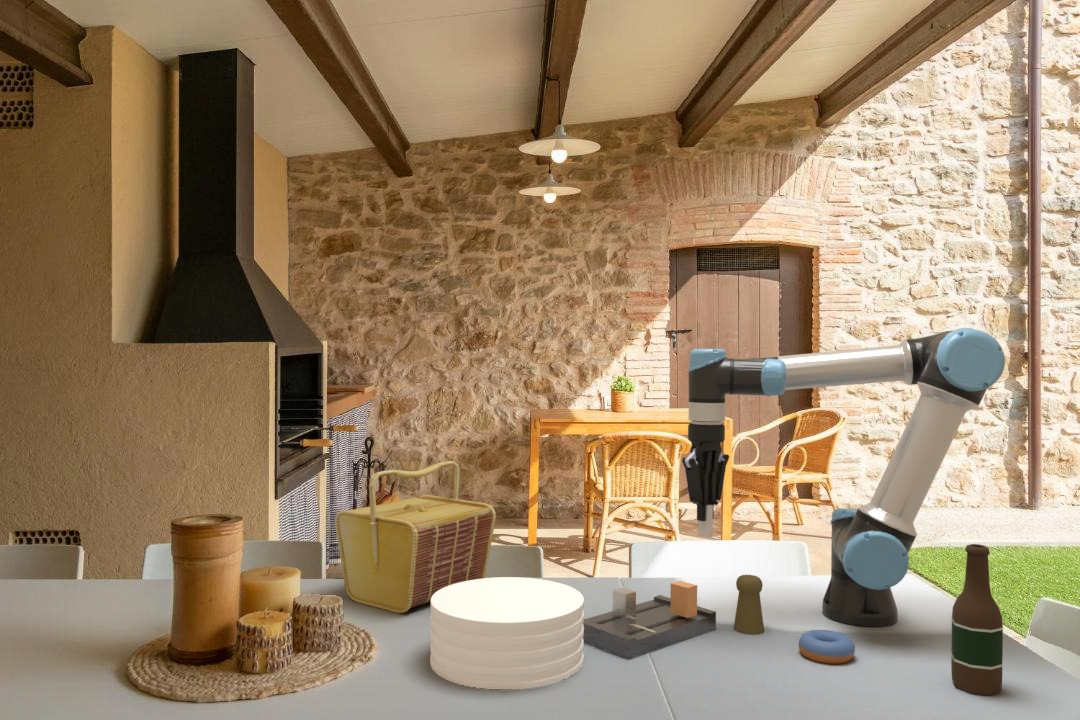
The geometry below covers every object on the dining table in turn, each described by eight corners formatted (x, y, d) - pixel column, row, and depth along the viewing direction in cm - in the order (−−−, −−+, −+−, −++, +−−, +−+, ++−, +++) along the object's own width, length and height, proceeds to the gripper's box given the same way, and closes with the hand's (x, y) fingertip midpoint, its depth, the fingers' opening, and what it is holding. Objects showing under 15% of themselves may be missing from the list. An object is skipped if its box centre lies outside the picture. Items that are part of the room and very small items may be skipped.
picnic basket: (420, 572, 210) (421, 455, 210) (499, 590, 195) (500, 464, 194) (329, 599, 186) (330, 467, 186) (411, 622, 171) (412, 478, 171)
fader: (696, 614, 165) (697, 585, 165) (687, 618, 164) (687, 588, 164) (679, 609, 169) (680, 580, 169) (670, 612, 167) (670, 583, 167)
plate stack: (465, 703, 132) (465, 632, 131) (409, 647, 156) (409, 587, 156) (612, 673, 144) (613, 608, 144) (539, 626, 169) (540, 570, 169)
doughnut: (856, 668, 146) (854, 641, 147) (797, 663, 150) (796, 637, 150) (855, 654, 156) (854, 630, 156) (800, 650, 159) (799, 626, 160)
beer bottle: (941, 678, 142) (942, 540, 142) (983, 677, 143) (985, 540, 143) (968, 697, 135) (969, 551, 134) (1013, 696, 135) (1014, 550, 135)
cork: (765, 635, 164) (765, 580, 164) (734, 633, 165) (734, 579, 165) (763, 626, 170) (763, 572, 170) (733, 623, 171) (733, 571, 171)
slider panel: (715, 629, 167) (716, 590, 167) (628, 659, 150) (628, 615, 150) (659, 611, 179) (660, 574, 179) (572, 637, 162) (573, 597, 162)
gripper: (711, 420, 178) (709, 528, 178) (672, 422, 169) (670, 536, 169) (740, 422, 172) (738, 534, 172) (701, 425, 163) (699, 543, 164)
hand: (704, 535), depth 171 cm, fingers closed
